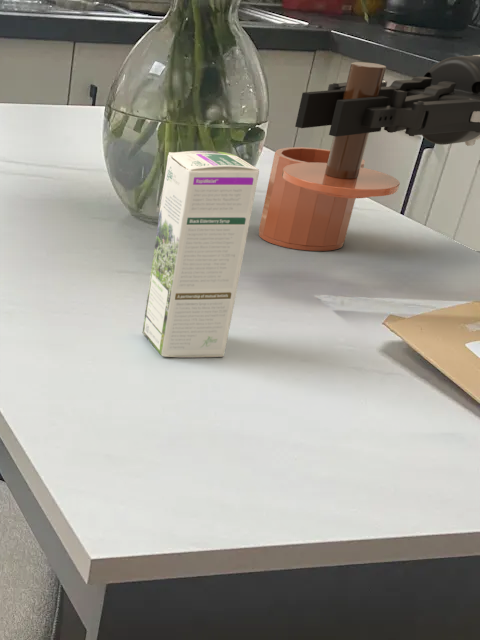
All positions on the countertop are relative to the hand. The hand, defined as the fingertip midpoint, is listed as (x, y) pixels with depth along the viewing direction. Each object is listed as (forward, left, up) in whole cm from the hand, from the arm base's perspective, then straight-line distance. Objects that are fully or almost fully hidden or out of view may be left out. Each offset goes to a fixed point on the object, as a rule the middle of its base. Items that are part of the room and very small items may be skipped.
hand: (319, 114), depth 93 cm
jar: (-8, -21, -16) cm, 28 cm away
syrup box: (+13, +15, -16) cm, 25 cm away
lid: (-4, -3, -6) cm, 8 cm away
